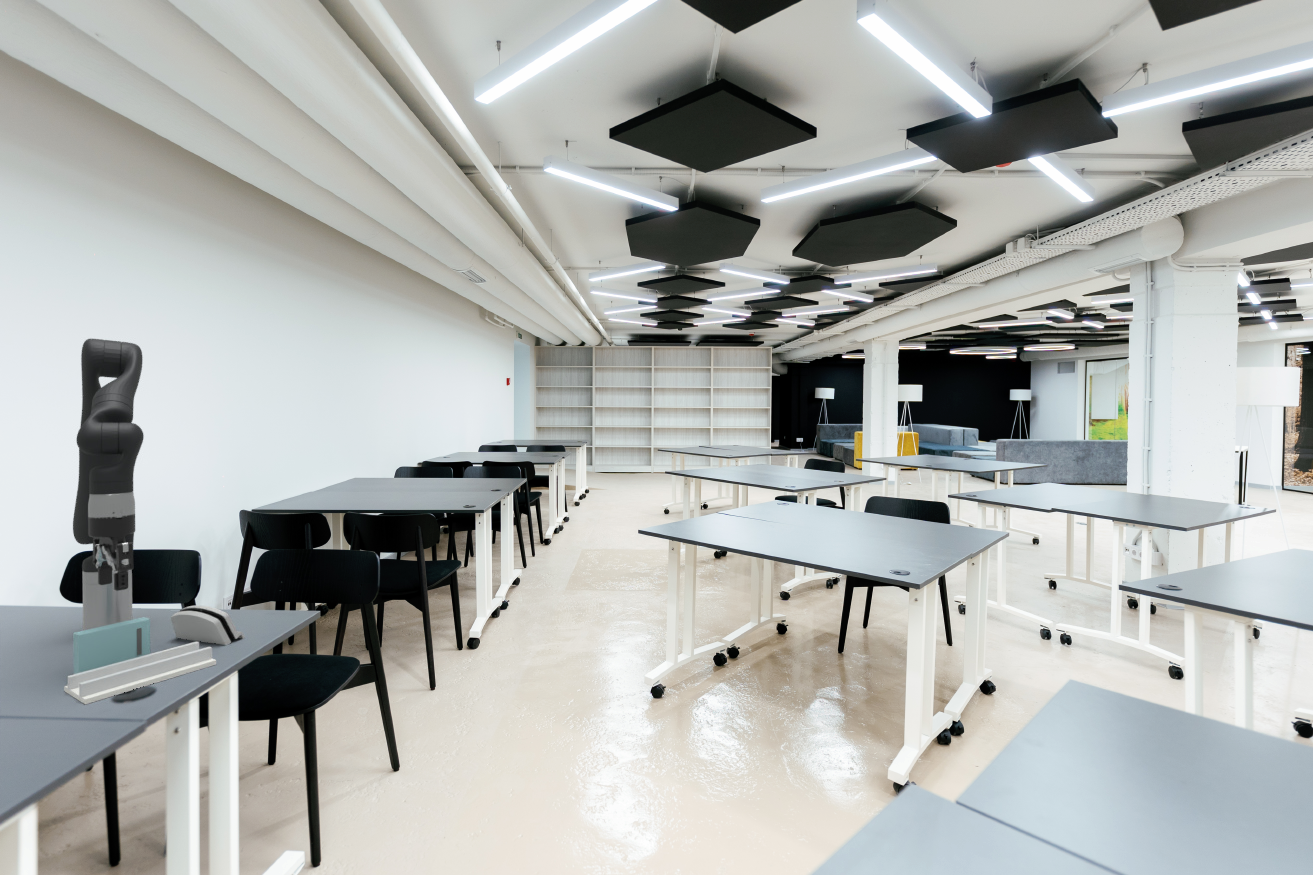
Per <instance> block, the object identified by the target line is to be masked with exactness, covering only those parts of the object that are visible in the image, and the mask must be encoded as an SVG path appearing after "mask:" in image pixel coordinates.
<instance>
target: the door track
mask: <svg viewBox="0 0 1313 875" xmlns="http://www.w3.org/2000/svg"><path fill="white" fill-rule="evenodd" d="M215 665H217V660H216V659H215V658H213V647H211V646H207V647H203V648H200V641H193V642H190V643H186V644H181V645H179V646H175V647H171V648H167V649H164V650H159V651H155V652H152V653H150V654H148V655H144V656H141V657H137V658H133V659H129V660H126V661H122V662H118V663H115V664H111V665H107V666H103V667H100V668H96V669H92V670H88V671H85V672H81V673H77V674H74V673H73V674H71V675H67V685H64V689H63V690H64V692H65V693H67V694H68V695H69V696H71V697H73V698H74V699H75V700H77V701H79V702H80V703H82V704H84V705H88V704H92V703H94V702H97V701H102V700H104V699H108V698H111V697H115V696H117V695H120V694H124V692H125V693H127V692H130V691H134V690H137V689H136V688H138V689H140V687H141V688H144V687H147V686H151V685H154V684H157V683H160V682H163V681H166V680H170V679H173V678H177V677H179V676H183V675H187V674H189V673H190V674H191V673H192V672H196V671H199V670H202V669H207V668H209V667H212V666H215ZM153 683H154V684H153ZM150 684H151V685H150ZM143 686H144V687H143ZM133 689H134V690H133ZM114 695H115V696H114Z"/></svg>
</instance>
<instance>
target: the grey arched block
mask: <svg viewBox="0 0 1313 875" xmlns="http://www.w3.org/2000/svg"><path fill="white" fill-rule="evenodd" d="M169 618H170V622H171V625H172V628H173V630H174V634H175V637H176V639H178V638H181V639H180V640H186V639H187V641H193V642H196V641H197V642H200V641H201V643H207V642H208V643H209V644H214V643H216V645H223V646H228V645H230V644H231V643H232V640H237V639H241V640H242V639H245V638H246V637H245V635H244V632H242V631H238V630H237V629H236V627H235V624H234V622H233V621H232V619H231V618H232V617H230V615H229V614H228V613H227V612H225V611H223V610H220V609H219V608H216V607H212V606H207V605H197V604H196V605H190V606H186V607H184V608H182V609H179V611H178V612H174V613H173V615H171V616H170V617H169Z"/></svg>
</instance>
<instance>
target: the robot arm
mask: <svg viewBox="0 0 1313 875" xmlns="http://www.w3.org/2000/svg"><path fill="white" fill-rule="evenodd" d="M80 360H81V363H80V365H81V386H82V387H81V391H82V392H81V395H82V396H81V398H82V400H81V401H82V403H81V415H80V416H81V418H80V426H79V427H80V428H79V429H78V432H77V434H76V445H77V447H78V483H77V491H76V498H75V503H74V504H75V505H74V513H73V519H72V533H73V537H74V539H75V541H76V542H77V543H78V544H80V545H92V555H90V556H88V557H86V558H85V559H83V561H82V564H81V568H82V569H81V570H82V631H84V630H88V629H93V628H97V627H102V626H106V625H111V624H115V623H120V622H124V621H129V620H133V573H132V570H134V566H135V565H134V540H135V533H136V500H135V495H134V494H135V493H134V473H135V472H134V471H135V466H136V463H137V462H136V461H137V458H138V455H139V454H140V450H141V447H142V445H143V443H144V437H145V436H144V435H145V434H144V431H143V429H142V428H141V426H140V425H138V424H136V423H134V422H133V419H134V403H135V397H136V393H137V389H138V386H139V383H140V379H141V374H142V370H143V369H142V368H143V351H142V349H141V347H140V346H139V345H138V344H136V343H133V342H126V341H120V340H119V341H117V340H109V339H108V340H107V339H99V338H88V339H85V340H84V342H83V344H82V347H81V356H80ZM101 377H103V378H111V379H114V380H111V381H110V382H108V383H106V384H105V385H103V386H101V382H100V378H101Z"/></svg>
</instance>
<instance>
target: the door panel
mask: <svg viewBox="0 0 1313 875" xmlns="http://www.w3.org/2000/svg"><path fill="white" fill-rule="evenodd" d="M72 634H73V636H72V641H73V646H72V647H73V648H72V649H73V652H72V653H73V654H72V655H73V659H72V660H73V675H74V674H77V673H81V672H85V671H88V670H92V669H96V668H100V667H103V666H107V665H111V664H115V663H118V662H122V661H126V660H129V659H133V658H137V657H141V656H144V655H148V654H151V618H148V617H145V616H143V617H138V618H132V620H129V621H124V622H120V623H115V624H111V625H106V626H102V627H97V628H93V629H88V630H84V631H83V630H81V631H75V632H73V633H72Z"/></svg>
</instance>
